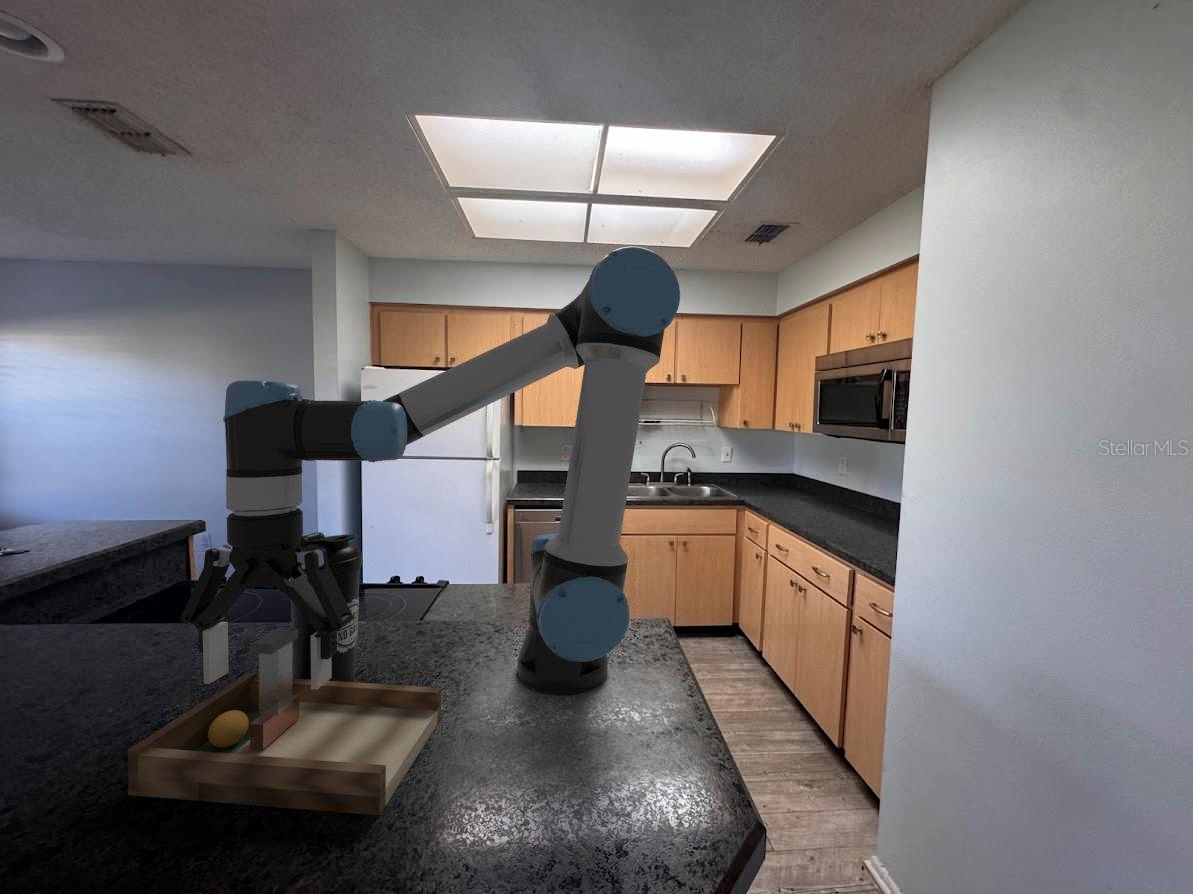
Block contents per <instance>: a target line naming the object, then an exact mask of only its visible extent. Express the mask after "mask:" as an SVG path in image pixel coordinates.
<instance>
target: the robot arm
mask: <svg viewBox="0 0 1193 894" xmlns="http://www.w3.org/2000/svg"><path fill="white" fill-rule="evenodd" d="M680 300H681V290H680V284H679V280H678V278H677V275H676V274H675V271H674V270H673V269H672V268H671V266H670V265H669V263H668V261H666V259H664V258H663V257H662V256H660V254H658V253H656V252H655V251H652V250H650V249H648V248H645V247H641V246H625V247H620V248H617V249H614V250H613V251H610V252H609V253H608V254H606V255H605V257H603V258H602V259H600V260H599V262H597V263H596V265H595V266H594V267H593V269H592V270H591V274H590V276H589V279H588V281H587V282H586V285H584V288H583V289H582V291H581V292H580V293H579V294H578V295H577V296H576V297H575V298H574V299H573V300H572V301H570V302H569V303H568V304H567V305H565V306H563V307H562V308H560V309H557V310H556V311H554V312H552V313H550V314H549V316H548V318H547V321H546V322H545V323H544V324H542V325H540V326H537V327H536V328H533V329H531V330H530V331H527V332H525V333H523V334H521V335H519V336H517V337H515V338H513V339H510V340H508V341H506V342H504V343H501V344H499V345H498V346H495V347H493V348H492V349H489V350H487V351H485V352H483V353H481V354H479V355H477V356H474V357H473V358H470V359H468V360H466V361H464V362H461V363H460V364H457V365H456V366H453V367H451V368H449V369H447V370H445V371H443V372H440V373H439V374H436V375H434V376H432V377H430V378H428V379H425V380H424V381H422V382H419V383H417V384H415V385H413V386H410V387H409V388H407V389H404V390H403V391H400V392H399V393H396V394H394V395H392V396H390V397H388V398H386V399H383V400H375V399H374V400H373V399H372V400H371V399H368V400H314V399H307V398H304V396H303V395H302V390H301V389H302V388H301V387H300V386H299V385H297V384H295V383H292V382H284V381H282V382H281V381H269V380H268V381H265V380H247V379H246V380H237V381H233V382H231V383H229V385H228V386H227V387H226V391H225V402H224V403H225V404H224V416H223V417H222V420H223V422H224V428H225V429H224V431H225V454H226V455H225V456H226V469H225V471H226V473H225V475H226V476H225V481H226V482H225V484H226V485H225V491H226V492H225V498H226V499H225V503H226V504H225V505H226V506H225V507H226V510H229V511H230V512H231V513H230V514H228V516H226V541H227V544H225V545H221V546H217V547H214V548H210V549H207V550H206V551H205V553H204V559H203V568H202V571H201V572H200V575H199V577H198V579H197V581H196V584H195V586H194V587H193V589H192V592H191V594H190V596H189V598H188V601H187V603H186V605H185V607H184V609H183V611H182V614H181V615H180V622H181V623H182V624H185V625H187V624H189V623H190V624H191V625H192V624H193V625H194V627H195V629H197V630H198V651H199V653H200V654H202V657H203V658H202V659H203V664H202V665H203V684H204V685H205V684H206V685H210V684H212V683H213V682H215V681H217V680H218V679H220V678H222V677H223V676H225V675H227V674H228V673H229V668H230V667H229V625H228V624H229V622H228V621H222V620H224V619H226V617H224V616H225V614H227V612H228V611H229V610H230V609H231V608H232V607H233V605H234V604H235V603H236V602H237V600H238V599H239V598H240V597H241V596H242V594H243V593H245V590H247V588H253V589H255V588H258V587H262V588H266V589H267V588H268V589H275V588H277V589H278V591H279V592H281V593H282V594H285V595H286V596H288V597H289V599H290V601H291V600H292V601H293V603H294V604H295V605H296V606H297V608H298V609H299V610H300V611H301V612H302V614H303V615H304V616H305V617H306V619H307V620H308V621H309V622H310V624H311V625H312V626H313V627H314V629H315V630H316V631H317V632H316V633H314V634H313V635H311V689H318V688H320V687H321V686H322V685H323V684H324V683H326V682H327V681H328V680H329V679H330V678H331V677H332V670H331V657H332V656H333V655H335V654H336V651H337V630H339V629H341V628H342V627H344V626H345V625H346V624H348V623H349V622H351V621H352V620H353V615H352V613H351V611H350V609H349V607H348V605H347V603H346V600H345V598H344V596H343V594H342V592H341V590H340V588H339V586H338V584H337V582H336V580H335V578H334V576H333V574H332V572H331V570H330V568H329V566H328V557H327V551H326V549H324V548H319V549H317V550H314V551H307V552H303V551H302V549H301V547H300V541H301V538H302V536H304V517H303V516H304V515H303V513H304V511H303V510H301V508H299V506H300V505H302V503H303V461H308V462H309V461H311V462H312V461H313V462H314V461H330V462H331V461H339V462H342V461H343V462H354V461H355V462H369V463H376V462H384V461H385V462H386V461H397V460H400V459H401V458H402V457H403V456H404V453H405V451H406V448H407V446H408V445H410V444H412V443H414V442H416V441H419V440H420V439H422V438H424V437H426V436H427V435H430V434H432V433H434V432H436V431H438V430H440V429H443V428H444V427H446V426H448V425H450V424H452V423H454V422H456V421H459V420H461V419H462V418H465V417H466V416H468V415H471V414H473V413H474V412H477V411H479V410H480V409H482V408H483V409H484V408H485V407H487V406H488V405H490V404H494V403H495V402H497V401H499V400H501V399H503V398H505V397H507V396H509V395H511V394H513V393H515V392H518V391H519V390H522V389H524V388H525V387H527V386H530V385H532V384H533V383H536V382H538V381H540V380H542V379H544V378H547V377H548V376H550V375H553V374H554V373H556V372H558V371H560V370H562V369H564V368H571V369H574V370H576V369H578V368H580V367H584V368H583V373H582V380H581V385H580V393H579V399H578V405H577V411H576V417H575V418H576V419H575V425H574V432H573V438H572V445H571V450H570V457H569V462H568V464H569V465H568V470H567V477H566V483H565V487H564V495H563V496H564V497H563V501H562V502H563V503H562V509H561V515H560V521H559V527H558V533H547V534H546V533H545V534H541V535H537V536H535V537H534V538H532V541H531V544H530V551H529V556H530V571H529V572H530V575H529V576H530V577H529V613H528V614H529V620H528V621H529V622H528V628H527V630H526V634H525V636H524V639H523V642H522V645H521V647H520V650H519V653H518V657H517V676H518V679H519V680H520V681H521V683H523V685H525V686H527V687H528V688H529V689H532V690H534V691H536V692H540V693H544V694H547V695H548V694H549V695H561V696H562V695H575V694H579V693H584V692H587V691H589V690H593V689H594V688H596V687H597V686H599V685H601V684H602V683H603V682H604V681H605V679H606V678H607V675H608V671H609V670H608V667H609V666H608V665H609V662H608V661H609V658H608V653H610V652H611V651H612V650H614V649H615V648H616V647H618V645H620V643H621V642H622V640H623V639H624V638H625V635H626V633H627V631H628V629H629V628H628V627H629V623H630V609H629V606H630V605H629V603H628V599H627V597H626V595H625V593H624V589H625V583H626V575H627V570H628V569H627V568H628V565H629V556H628V554H627V553H626V551H625V550H624V549H623V547H622V546H621V544H620V543H621V536H622V531H623V524H624V518H625V517H624V516H625V511H626V504H627V500H628V499H627V498H628V493H629V486H630V479H631V473H632V467H633V466H632V465H633V461H634V453H635V448H636V447H635V446H636V441H637V436H638V435H637V434H638V429H639V422H640V417H641V416H640V415H641V411H642V402H643V398H644V397H643V396H644V392H645V391H644V390H645V385H646V379H647V373H648V372H649V371H651V369H653V368H654V367H655V366H656V365H658V364H659V363H660V360H661V353H662V347H663V341H664V335H665V330H666V329H667V328H668V327H669V325H671V324H672V323H673V321H674V318H675V317H676V314H677V313H678V310H679V307H680V303H681V301H680ZM301 563H302V564H303V565H302V569H306V573H307V575H306V574H305V573H304V571H303V570H302V569H301V568H300V566H299V565H300V564H301ZM230 565H231V566H232V567H233V569H234V571H233V572H232V574H231V575H230V576H229V577H228V578H227V580H226V581H225V582H224V586H223V588H222V589H221V590H220V591H219V589H220V587H221V585H222V583H223V581H224V578H225V576H226V575H227V571H228V570H229V567H230ZM307 576H308V577H307ZM291 577H293V578H294V579H293V580H291V581H290V578H291ZM307 579H309V581H310V583H311V585H312V586H311V585H310V584H309V582H308V581H307ZM218 592H219V593H218ZM220 621H221V622H220ZM218 622H219V623H218Z"/></svg>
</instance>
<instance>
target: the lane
mask: <svg viewBox="0 0 1193 894" xmlns="http://www.w3.org/2000/svg"><path fill="white" fill-rule="evenodd" d="M292 695H299V718H298V719H297V720H296V721H295V722H294V723H293V724H292V725H291V726H289V727H288V728H287V729H286V730H285V731H284V732H283V733H281V734H280V735H279V736H278V737H277V738H276V739H275V740H273V741H272V742H271V743H270V744H269V745H268V746H267V747H266V748H264V749H263V750H261V749H250V723H252V722H253V721H254V720H255V719H257V718H258V717H259V716H261V715H262V714H259V675H258V673H257V672H250V671H249V672H247V673H245V674H244V675H242V676H241V677H239V678H237V679H236V680H234V681H233V682H232V683H230V684H228V685H226V686H225V687H223V688H222V689H220V690H218V691H217V692H216V693H214V694H213V695H211V696H209V697H207V698H206V699H205V700H203V701H202V702H200V703H199V704H197V705H195V706H194V707H192V708H191V709H189V710H187V711H186V712H185V713H182V714H181V715H180V716H179V717H176V718H175V719H174V720H172V721H171V722H169V723H167V724H166V725H165V726H163V727H161V728H159V729H158V730H156V731H155V732H153V733H152V734H150V735H149V736H147V737H146V738H144V739H142V740H141V741H139V742H138V743H136V744H135V745H133V746H131V747H130V748H128V749H127V783H128V784H127V785H128V786H127V787H128V789H127V791H128V792H127V793H128V796H133V797H134V796H137V797H147V798H159V797H160V799H172V800H173V799H174V800H183V801H185V800H186V801H194V802H195V801H196V802H211V803H221V804H222V803H223V804H234V805H235V804H236V805H245V806H246V805H247V806H257V807H258V806H259V807H271V808H283V809H294V810H306V811H320V812H321V811H322V812H331V813H332V812H333V813H344V814H355V815H357V814H358V815H369V816H381V814H382V813H383V812H384V809H385V808H386V806H387V805H388V803H389V801H390V800H391V798H392V797H393V795H394V793H395V792H396V790H397V789H398V787H399V786H400V785H401V783H402V781H403V779H404V778H405V777H406V774H407V773H408V772H409V770H410V768H411V767H412V766H413V763H414V762H415V760H416V759H417V757H418V756H419V755H420V753H421V751H422V750H423V748H424V747H425V745H426V744H427V742H428V740H429V738H430V737H431V735H432V734H433V733H434V731H435V730H436V728H437V726H438V725H439V723H440V721H441V719H442V718H441V717H442V687H433V686H416V685H399V684H384V683H370V682H369V683H368V682H355V681H353V682H352V681H350V682H340V681H327V682H326V683H324V684H323V685H322V686H321V687H320V688H318V689H311V680H309V679H294V677H292ZM232 710H238V711H241V712H243V713H245V714H246V715H247V717H248V720H249V726H248V729H247V732H246V734H245V735H244V736H243V738H242V739H241V740H240V741H238V742H237V743H236V744H234V745H232V746H229V747H225V748H218V747H215V746H213V745H212V744H211V743H210V742H209V739H208V730H209V728H210V726H211V724H212V722H213V721H214V720H215V719H216V718H217V717H218V716H220V715H221V714H223V713H225V712H228V711H232Z"/></svg>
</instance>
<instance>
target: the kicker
mask: <svg viewBox="0 0 1193 894" xmlns="http://www.w3.org/2000/svg"><path fill="white" fill-rule="evenodd" d="M297 638H298V628H292V627H282V626H281V627H280V626H279V627H278V628H276V629H274V630H272V631H270V632H269V633H267V634H266V635H264V636H262V637H260V638H259V639H257V640H255V641H253V642H252V645H251V647H252V648H251V651H252V652H251V654H258V676H259V714H262V715H261V716H259V717H258V718H257V719H255V720H254V721H253V722H252V723H250V749H261V750H263V749H264V748H266V747H267V746H268V745H269V744H270V743H271V742H272V741H273V740H275V739H276V738H277V737H278V736H279V735H280V734H281V733H283V732H284V731H285V730H286V729H287V728H288V727H289V726H291V725H292V724H293V723H294V722H295V721H296V720H297V719H298V718H299V695H292V678H293V647H292V641H293V640H295V639H297Z"/></svg>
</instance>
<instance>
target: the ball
mask: <svg viewBox="0 0 1193 894" xmlns="http://www.w3.org/2000/svg"><path fill="white" fill-rule="evenodd" d="M248 726H249V720H248V717H247V715H246V714H245V713H243V712H241V711H238V710H232V711H228V712H225V713H223V714H221V715H220V716H218V717H217V718H216V719H215V720H214V721H213V722H212V724H211V726H210V728H209V730H208V739H209V742H210V743H211V744H212V745H213V746H215V747H218V748H225V747H229V746H232V745H234V744H236V743H237V742H238V741H240V740H241V739H242V738H243V736H244V735H245V734H246V732H247V729H248Z"/></svg>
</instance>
